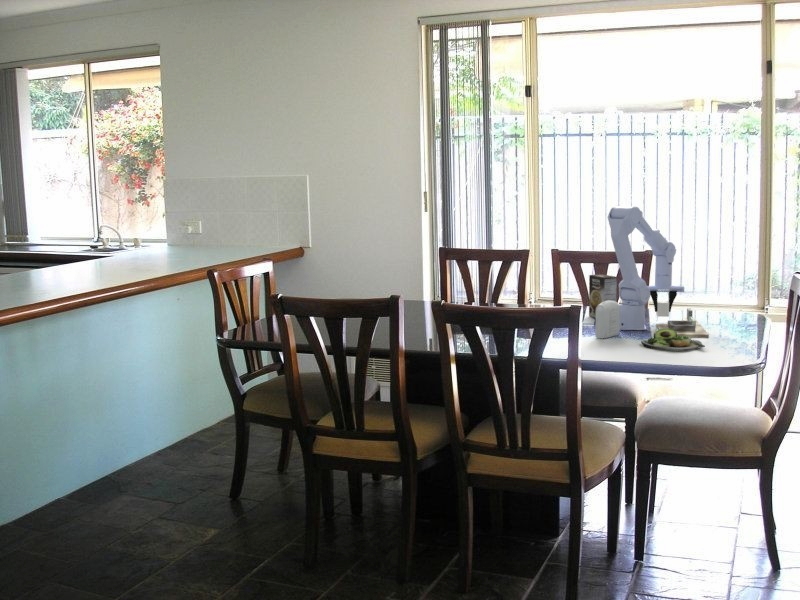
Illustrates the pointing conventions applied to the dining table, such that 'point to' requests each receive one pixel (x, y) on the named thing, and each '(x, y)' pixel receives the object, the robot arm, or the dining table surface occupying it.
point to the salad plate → (671, 341)
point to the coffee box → (601, 291)
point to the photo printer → (607, 319)
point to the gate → (690, 316)
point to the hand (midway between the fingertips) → (662, 311)
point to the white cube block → (662, 309)
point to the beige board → (684, 328)
